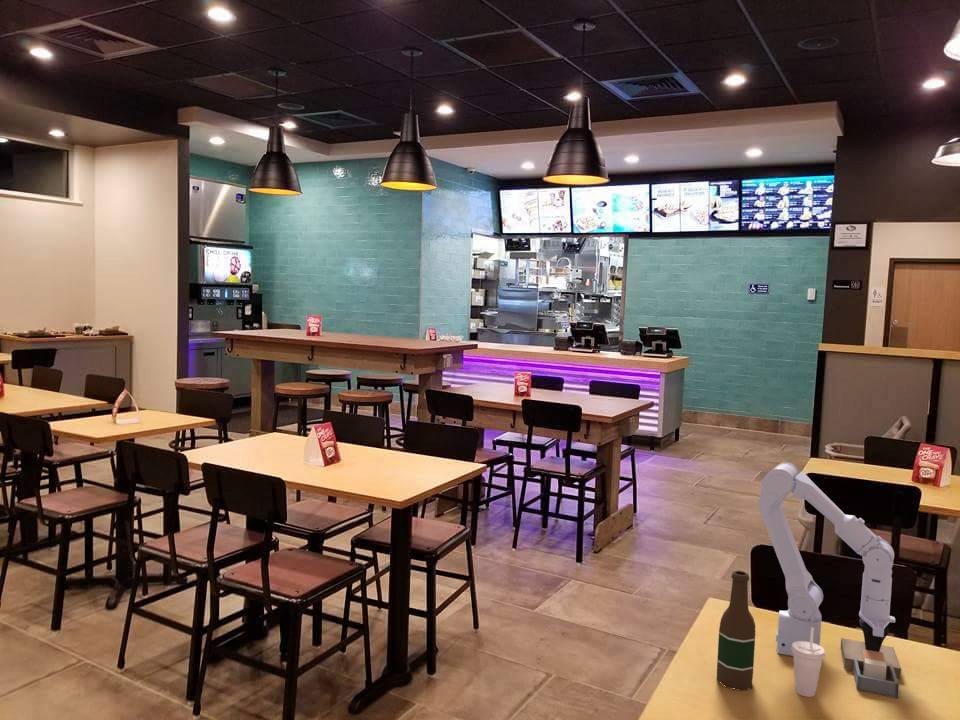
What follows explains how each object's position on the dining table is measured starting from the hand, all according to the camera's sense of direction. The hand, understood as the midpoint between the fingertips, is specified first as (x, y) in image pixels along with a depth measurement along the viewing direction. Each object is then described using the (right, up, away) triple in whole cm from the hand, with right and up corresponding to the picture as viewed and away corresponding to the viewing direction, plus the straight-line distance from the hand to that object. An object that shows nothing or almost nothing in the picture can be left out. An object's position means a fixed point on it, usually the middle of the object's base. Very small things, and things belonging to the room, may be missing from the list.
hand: (871, 654), depth 163 cm
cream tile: (-2, -1, -4) cm, 5 cm away
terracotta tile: (-1, -1, -2) cm, 3 cm away
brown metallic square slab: (+1, -3, +3) cm, 5 cm away
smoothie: (-20, -4, -10) cm, 23 cm away
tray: (-3, -4, -6) cm, 8 cm away
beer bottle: (-33, -3, -7) cm, 34 cm away
